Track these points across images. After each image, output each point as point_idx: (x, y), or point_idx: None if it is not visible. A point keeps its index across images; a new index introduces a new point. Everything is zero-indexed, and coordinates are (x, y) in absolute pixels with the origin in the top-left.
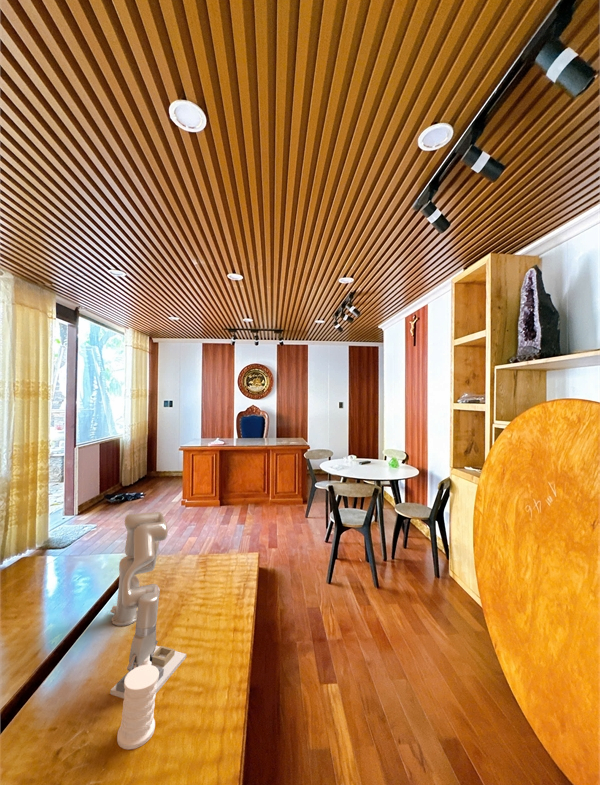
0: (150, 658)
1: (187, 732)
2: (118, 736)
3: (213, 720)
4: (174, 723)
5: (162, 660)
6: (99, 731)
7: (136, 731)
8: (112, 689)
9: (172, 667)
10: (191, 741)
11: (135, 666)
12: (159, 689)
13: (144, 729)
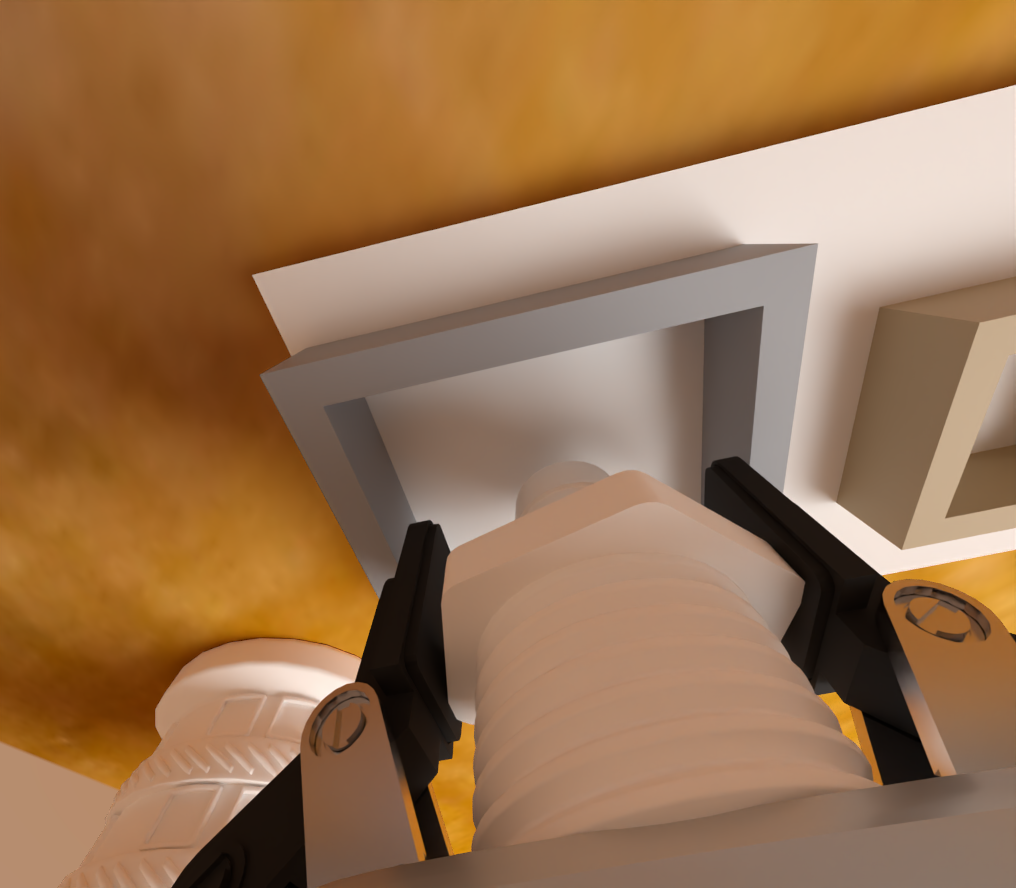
0: (815, 676)
1: (470, 819)
2: (157, 717)
3: None
4: (467, 775)
5: (902, 517)
6: (73, 564)
7: None
8: (277, 292)
9: None
10: (451, 840)
11: (481, 683)
12: None
13: None
